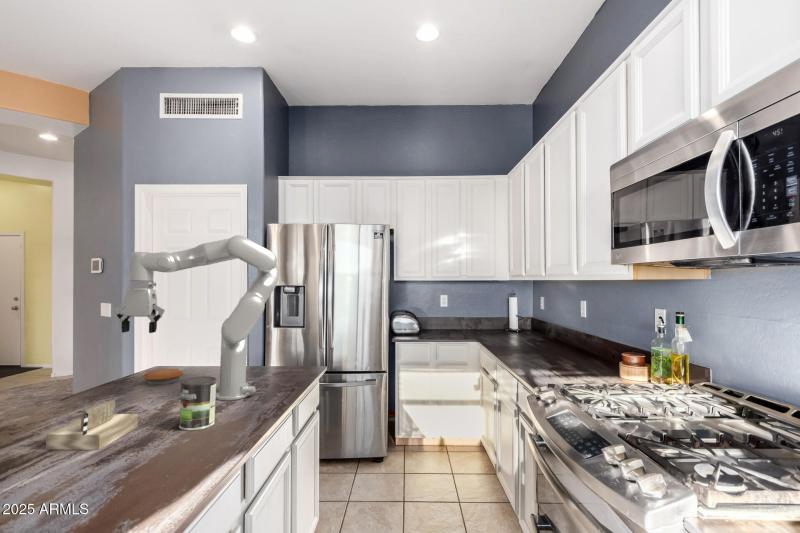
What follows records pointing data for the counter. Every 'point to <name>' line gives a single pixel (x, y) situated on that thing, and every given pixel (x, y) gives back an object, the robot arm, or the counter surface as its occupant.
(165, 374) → the pie
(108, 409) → the stone tablet
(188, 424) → the coffee can
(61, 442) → the birch block
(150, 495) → the counter surface
